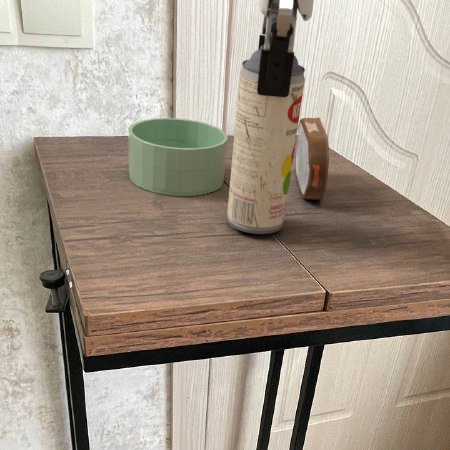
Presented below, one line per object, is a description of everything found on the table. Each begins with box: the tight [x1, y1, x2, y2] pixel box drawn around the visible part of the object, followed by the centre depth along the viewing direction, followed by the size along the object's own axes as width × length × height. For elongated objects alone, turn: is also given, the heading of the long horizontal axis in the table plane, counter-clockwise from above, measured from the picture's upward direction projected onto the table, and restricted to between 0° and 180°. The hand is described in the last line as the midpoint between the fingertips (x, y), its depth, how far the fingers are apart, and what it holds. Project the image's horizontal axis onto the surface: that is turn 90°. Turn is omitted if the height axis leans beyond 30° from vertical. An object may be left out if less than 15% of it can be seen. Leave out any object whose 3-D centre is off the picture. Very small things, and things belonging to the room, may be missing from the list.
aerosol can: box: [226, 34, 306, 235], centre depth 69 cm, size 7×7×20 cm
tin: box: [294, 116, 330, 201], centre depth 85 cm, size 15×3×8 cm, turn 0°
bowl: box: [127, 117, 229, 197], centre depth 84 cm, size 13×13×6 cm
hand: (271, 84), depth 66 cm, fingers closed on aerosol can, 6 cm apart
